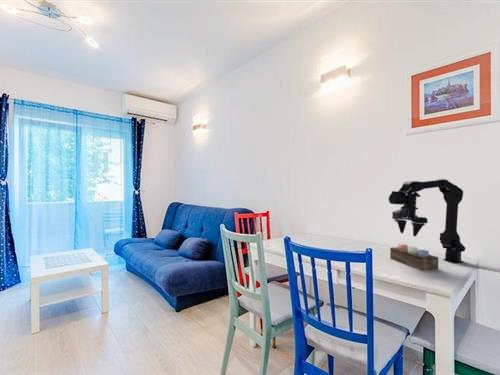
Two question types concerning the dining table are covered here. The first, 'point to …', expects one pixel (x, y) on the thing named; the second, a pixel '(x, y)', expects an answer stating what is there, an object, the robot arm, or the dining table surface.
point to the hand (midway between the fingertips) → (408, 234)
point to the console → (414, 259)
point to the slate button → (423, 253)
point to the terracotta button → (402, 246)
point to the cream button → (412, 250)
